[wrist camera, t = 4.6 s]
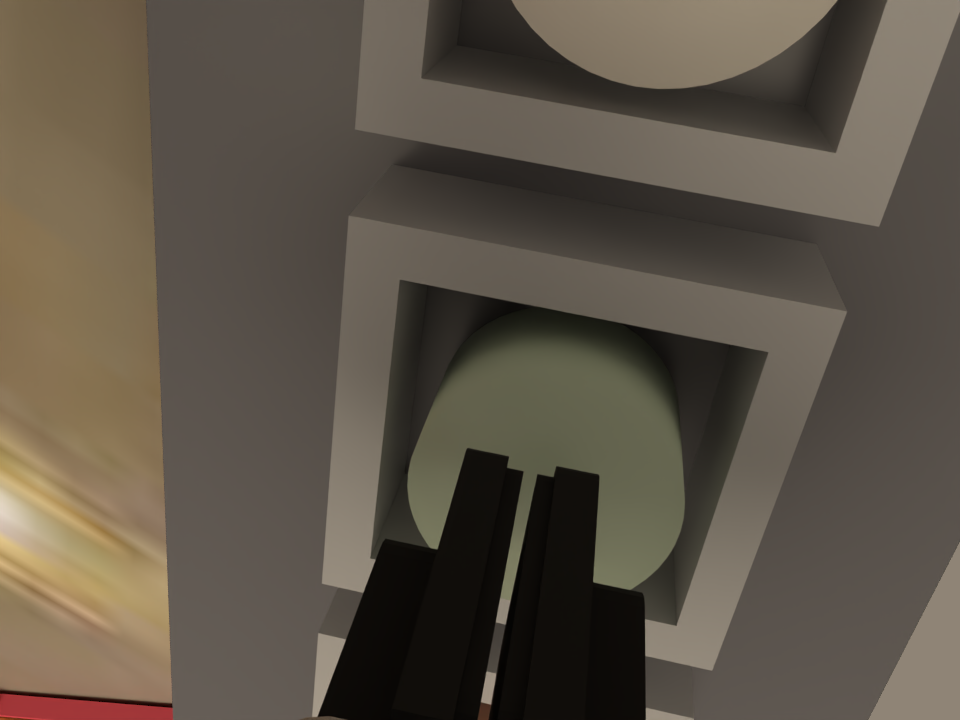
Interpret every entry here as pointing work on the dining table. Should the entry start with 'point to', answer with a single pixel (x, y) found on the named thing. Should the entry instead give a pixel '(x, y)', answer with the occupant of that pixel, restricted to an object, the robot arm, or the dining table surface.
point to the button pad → (563, 287)
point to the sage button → (561, 432)
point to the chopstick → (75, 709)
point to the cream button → (671, 36)
